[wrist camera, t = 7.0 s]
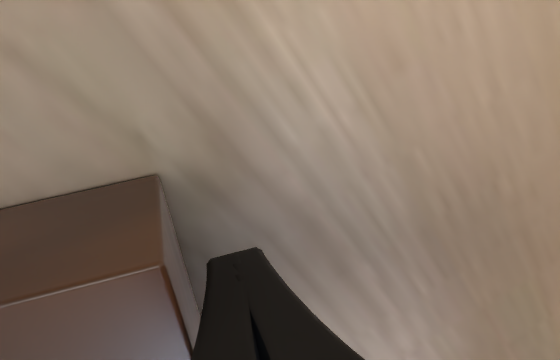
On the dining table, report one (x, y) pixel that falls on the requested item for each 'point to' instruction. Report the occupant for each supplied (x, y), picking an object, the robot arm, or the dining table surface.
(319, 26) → the dining table surface
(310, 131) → the dining table surface
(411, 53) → the dining table surface
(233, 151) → the dining table surface
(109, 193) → the walnut block
